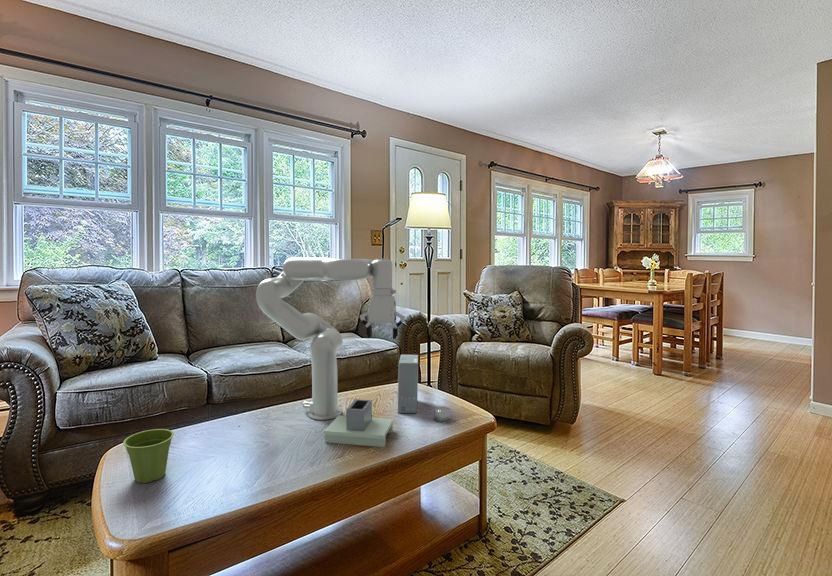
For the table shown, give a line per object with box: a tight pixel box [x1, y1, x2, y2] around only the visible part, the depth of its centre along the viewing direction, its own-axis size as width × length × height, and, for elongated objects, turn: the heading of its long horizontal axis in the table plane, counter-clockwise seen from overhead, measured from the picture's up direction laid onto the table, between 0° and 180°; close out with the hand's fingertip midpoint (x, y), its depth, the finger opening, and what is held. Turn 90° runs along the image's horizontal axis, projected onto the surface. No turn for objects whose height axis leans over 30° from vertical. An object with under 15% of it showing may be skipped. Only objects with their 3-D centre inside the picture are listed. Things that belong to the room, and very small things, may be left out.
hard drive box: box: [397, 354, 419, 414], centre depth 175 cm, size 16×8×20 cm, turn 179°
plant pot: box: [122, 428, 175, 484], centre depth 119 cm, size 12×12×11 cm
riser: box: [323, 414, 394, 448], centre depth 147 cm, size 20×14×4 cm
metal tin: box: [433, 406, 451, 424], centre depth 162 cm, size 6×6×4 cm
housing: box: [345, 398, 373, 431], centre depth 146 cm, size 10×6×7 cm, turn 171°
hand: (382, 337), depth 163 cm, fingers open, 9 cm apart
